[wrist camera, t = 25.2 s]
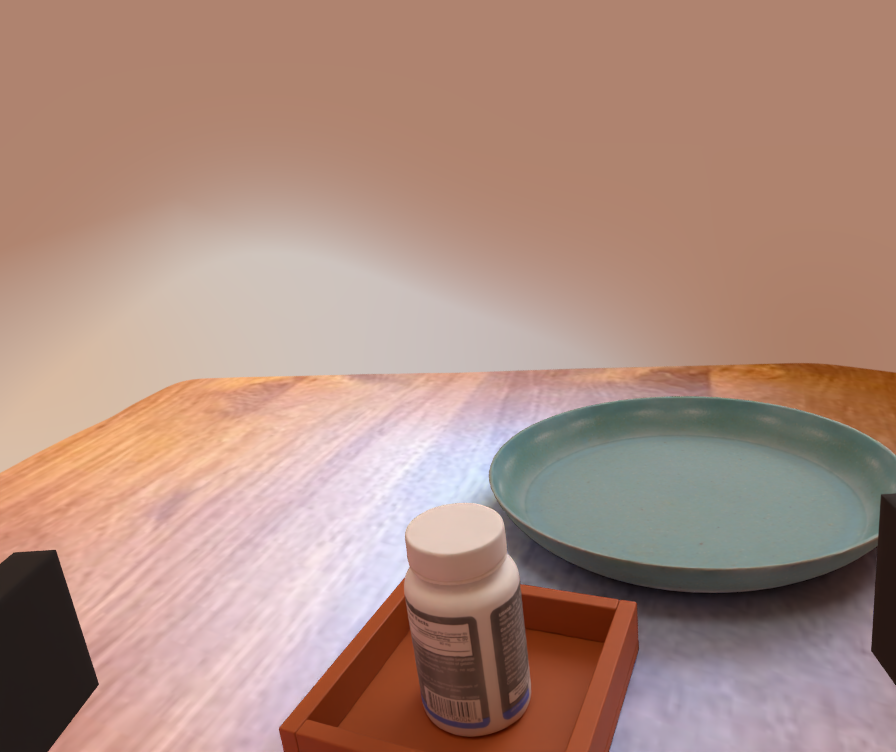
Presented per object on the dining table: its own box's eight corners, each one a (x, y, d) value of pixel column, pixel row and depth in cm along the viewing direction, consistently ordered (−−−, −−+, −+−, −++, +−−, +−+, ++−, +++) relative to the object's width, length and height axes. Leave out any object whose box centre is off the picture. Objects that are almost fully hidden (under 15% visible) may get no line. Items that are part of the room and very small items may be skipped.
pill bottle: (500, 648, 34) (482, 487, 32) (552, 712, 30) (536, 532, 27) (406, 684, 33) (379, 518, 30) (447, 758, 28) (420, 572, 26)
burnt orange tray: (639, 648, 34) (637, 601, 33) (573, 872, 24) (568, 812, 23) (419, 608, 39) (413, 566, 38) (289, 780, 29) (277, 728, 28)
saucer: (1003, 631, 32) (1012, 566, 31) (468, 624, 37) (461, 568, 36) (830, 426, 55) (832, 384, 54) (511, 438, 60) (508, 400, 59)
